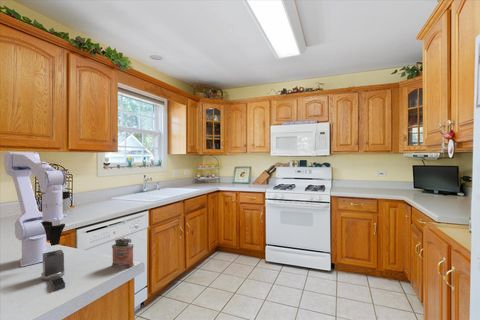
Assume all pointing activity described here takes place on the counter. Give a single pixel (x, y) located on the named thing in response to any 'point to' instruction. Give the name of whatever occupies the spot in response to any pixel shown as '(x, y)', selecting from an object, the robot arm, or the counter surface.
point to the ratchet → (55, 280)
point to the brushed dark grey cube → (53, 262)
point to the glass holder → (66, 201)
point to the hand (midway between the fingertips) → (53, 242)
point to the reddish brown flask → (122, 253)
